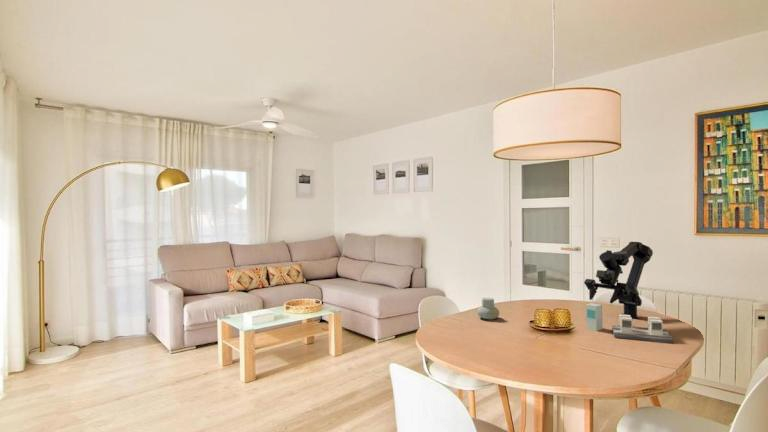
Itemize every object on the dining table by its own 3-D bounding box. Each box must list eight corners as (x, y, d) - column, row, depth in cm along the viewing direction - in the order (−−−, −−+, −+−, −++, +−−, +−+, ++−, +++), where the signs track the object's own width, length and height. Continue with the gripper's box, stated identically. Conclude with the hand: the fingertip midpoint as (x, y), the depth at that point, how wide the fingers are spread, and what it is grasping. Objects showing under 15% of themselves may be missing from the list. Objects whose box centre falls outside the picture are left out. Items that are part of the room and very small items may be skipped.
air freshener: (493, 315, 207) (493, 296, 207) (502, 319, 199) (501, 299, 199) (474, 317, 204) (474, 297, 204) (482, 321, 196) (482, 301, 196)
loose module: (592, 326, 182) (592, 302, 182) (602, 328, 179) (602, 304, 179) (586, 328, 179) (585, 304, 179) (596, 331, 175) (595, 306, 175)
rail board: (611, 328, 178) (611, 312, 178) (665, 333, 169) (665, 315, 169) (614, 337, 165) (614, 319, 165) (673, 343, 157) (672, 324, 157)
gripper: (585, 262, 193) (573, 287, 186) (626, 265, 177) (614, 293, 171) (594, 276, 197) (582, 301, 191) (635, 281, 182) (624, 308, 175)
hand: (600, 301), depth 182 cm, fingers open, 9 cm apart
